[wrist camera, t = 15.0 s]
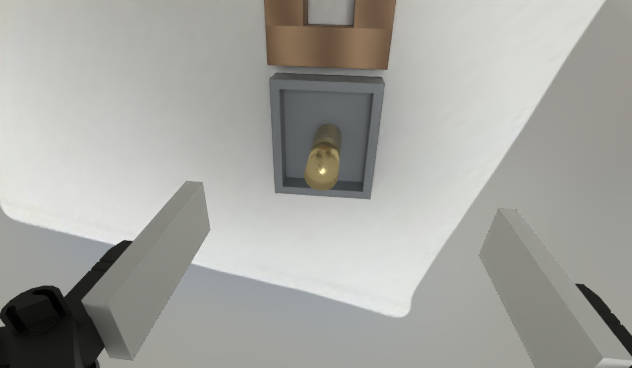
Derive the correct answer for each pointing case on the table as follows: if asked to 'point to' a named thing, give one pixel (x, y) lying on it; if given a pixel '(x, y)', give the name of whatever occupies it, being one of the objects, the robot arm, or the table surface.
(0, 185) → the table surface
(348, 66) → the block
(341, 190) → the tray
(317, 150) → the lock pin
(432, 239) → the table surface
